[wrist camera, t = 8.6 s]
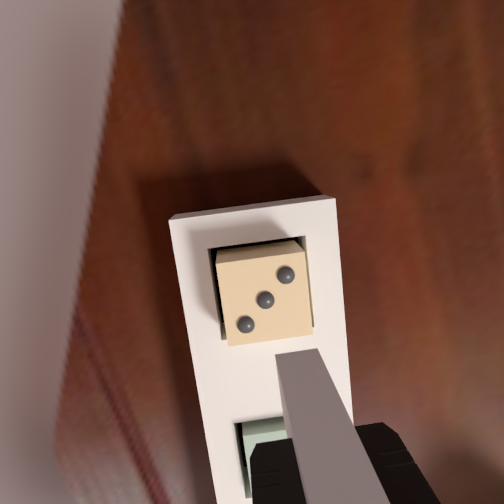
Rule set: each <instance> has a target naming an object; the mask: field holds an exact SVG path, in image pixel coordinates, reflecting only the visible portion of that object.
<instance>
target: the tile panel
mask: <svg viewBox="0 0 504 504" xmlns="http://www.w3.org/2000/svg"><path fill="white" fill-rule="evenodd" d="M168 221H169V227H170V232H171V238H172V244H173V250H174V256H175V262H176V267H177V273H178V279H179V285H180V291H181V296H182V302H183V308H184V314H185V320H186V325H187V331H188V337H189V343H190V349H191V354H192V360H193V366H194V372H195V378H196V384H197V389H198V395H199V401H200V407H201V413H202V418H203V424H204V430H205V436H206V442H207V447H208V453H209V459H210V465H211V471H212V476H213V482H214V488H215V494H216V500H217V504H253V503H252V494H251V488H250V481H249V474H248V468H247V467H244V466H243V459H242V452H241V446H240V439H239V433H238V426H237V423H240V422H247V421H253V420H260V419H267V418H273V417H280V416H283V410H282V403H281V396H280V389H279V381H278V374H277V367H276V359H275V354H282V353H289V352H295V351H302V350H308V349H315V348H318V350H319V353H320V355H321V357H322V359H323V361H324V363H325V365H326V368H327V370H328V372H329V374H330V376H331V378H332V380H333V382H334V385H335V387H336V389H337V391H338V393H339V395H340V397H341V400H342V402H343V404H344V406H345V408H346V410H347V412H348V415H349V417H350V419H351V421H352V423H353V414H352V401H351V389H350V376H349V364H348V351H347V339H346V326H345V314H344V301H343V289H342V276H341V264H340V251H339V239H338V226H337V213H336V201H335V198H333V197H329V196H326V195H318V196H310V197H303V198H295V199H288V200H280V201H272V202H265V203H257V204H250V205H242V206H235V207H227V208H219V209H212V210H204V211H197V212H189V213H182V214H175V215H174V216H173V217H171V218H170V219H169V220H168ZM297 236H298V243H299V246H300V247H301V248H302V249H303V250H304V251H305V259H306V269H307V279H308V289H309V299H310V309H311V319H312V329H313V335H306V336H299V337H292V338H285V339H278V340H272V341H265V342H258V343H251V344H244V345H237V346H230V347H228V343H227V336H226V329H225V323H224V322H222V320H221V314H220V307H219V300H218V294H217V287H216V281H215V274H214V267H213V261H212V254H211V248H216V247H223V246H231V245H238V244H245V243H253V242H260V241H268V240H275V239H282V238H290V237H297Z"/></svg>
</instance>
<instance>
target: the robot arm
mask: <svg viewBox="0 0 504 504" xmlns="http://www.w3.org/2000/svg"><path fill="white" fill-rule="evenodd" d="M275 359H276V367H277V374H278V381H279V389H280V396H281V403H282V410H283V418H284V424H285V429H286V434H287V439H281V440H275V441H268V442H262V443H256V445H255V447H254V449H253V452H252V454H251V456H250V473H251V488H252V503H253V504H441V503H440V502H439V500H438V499H437V497H436V495H435V494H434V492H433V490H432V489H431V487H430V486H429V484H428V482H427V481H426V479H425V477H424V476H423V474H422V473H421V471H420V469H419V468H418V466H417V464H415V462H414V460H413V458H412V456H411V455H410V453H409V451H407V448H406V447H405V445H404V443H403V442H402V440H401V438H400V437H399V435H398V434H397V433H396V432H395V431H393V430H392V429H391V428H390V427H388V426H387V425H386V424H384V423H383V422H380V423H374V424H368V425H361V426H355V427H354V425H353V423H352V421H351V419H350V417H349V415H348V412H347V410H346V408H345V406H344V404H343V402H342V400H341V397H340V395H339V393H338V391H337V389H336V387H335V385H334V382H333V380H332V378H331V376H330V374H329V372H328V370H327V368H326V365H325V363H324V361H323V359H322V357H321V355H320V353H319V350H318V348H315V349H308V350H302V351H295V352H289V353H282V354H275Z"/></svg>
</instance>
